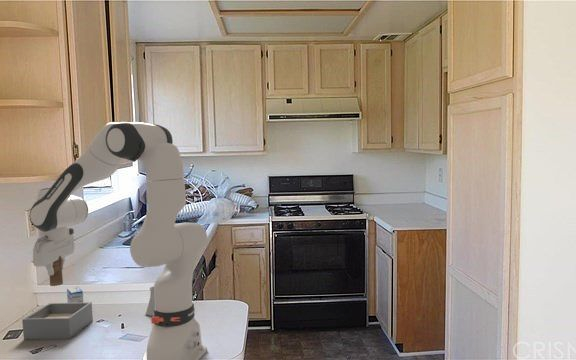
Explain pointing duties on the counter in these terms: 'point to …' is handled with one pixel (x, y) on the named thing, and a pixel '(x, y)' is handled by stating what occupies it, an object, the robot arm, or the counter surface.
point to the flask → (151, 303)
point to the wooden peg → (57, 273)
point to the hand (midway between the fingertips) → (55, 272)
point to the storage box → (57, 321)
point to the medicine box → (74, 295)
